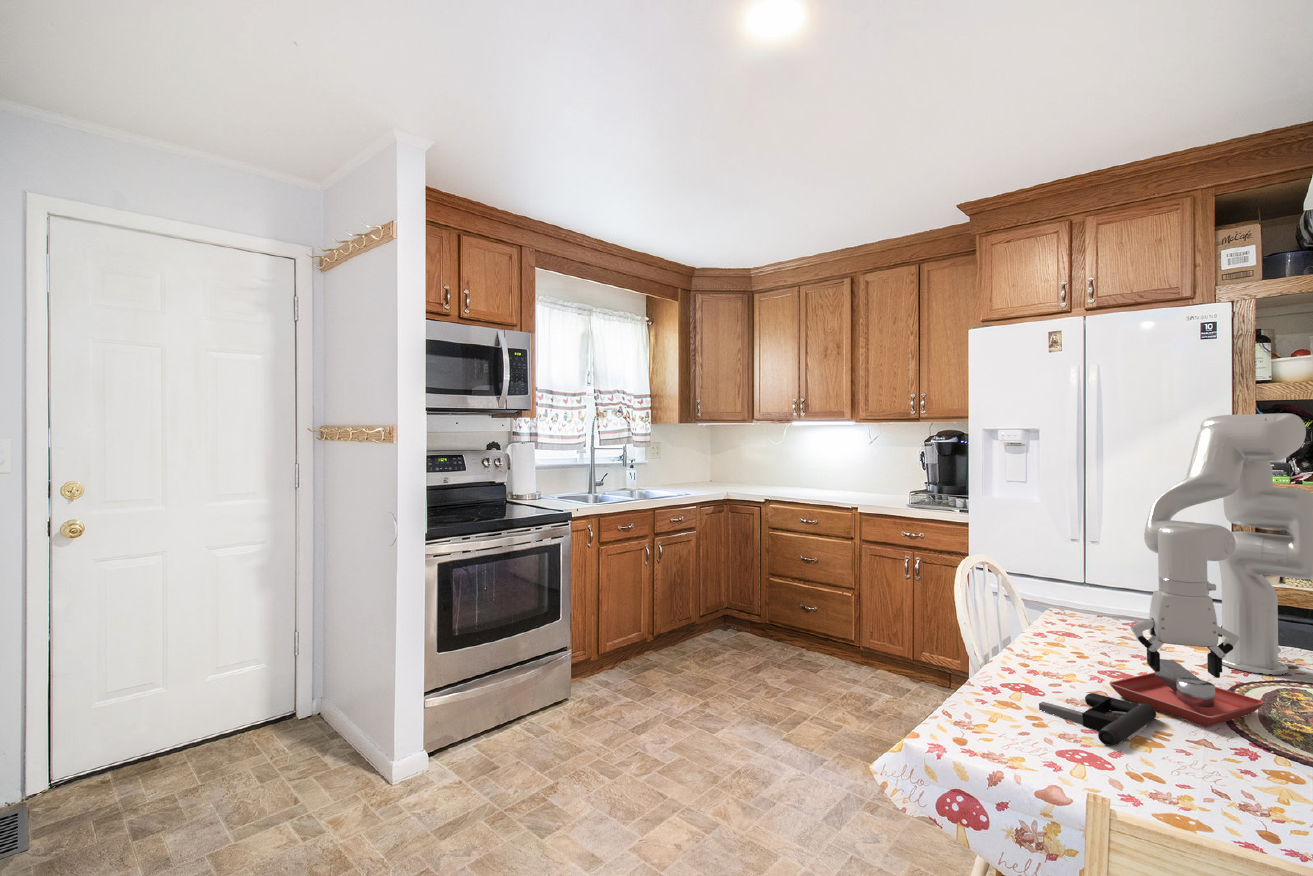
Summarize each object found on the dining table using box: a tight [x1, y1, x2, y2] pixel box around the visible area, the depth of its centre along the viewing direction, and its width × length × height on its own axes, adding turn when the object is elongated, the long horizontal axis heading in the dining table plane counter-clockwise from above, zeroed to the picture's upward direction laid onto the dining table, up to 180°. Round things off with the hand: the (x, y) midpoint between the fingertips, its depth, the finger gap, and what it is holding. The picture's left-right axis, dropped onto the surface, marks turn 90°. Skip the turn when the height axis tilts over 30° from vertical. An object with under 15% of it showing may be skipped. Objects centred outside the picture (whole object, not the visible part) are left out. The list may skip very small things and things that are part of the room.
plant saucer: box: [1108, 671, 1266, 728], centre depth 122 cm, size 18×18×3 cm
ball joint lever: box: [1154, 658, 1216, 708], centre depth 123 cm, size 16×6×4 cm, turn 160°
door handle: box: [1038, 692, 1160, 747], centre depth 116 cm, size 3×20×16 cm
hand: (1183, 672), depth 123 cm, fingers open, 9 cm apart
